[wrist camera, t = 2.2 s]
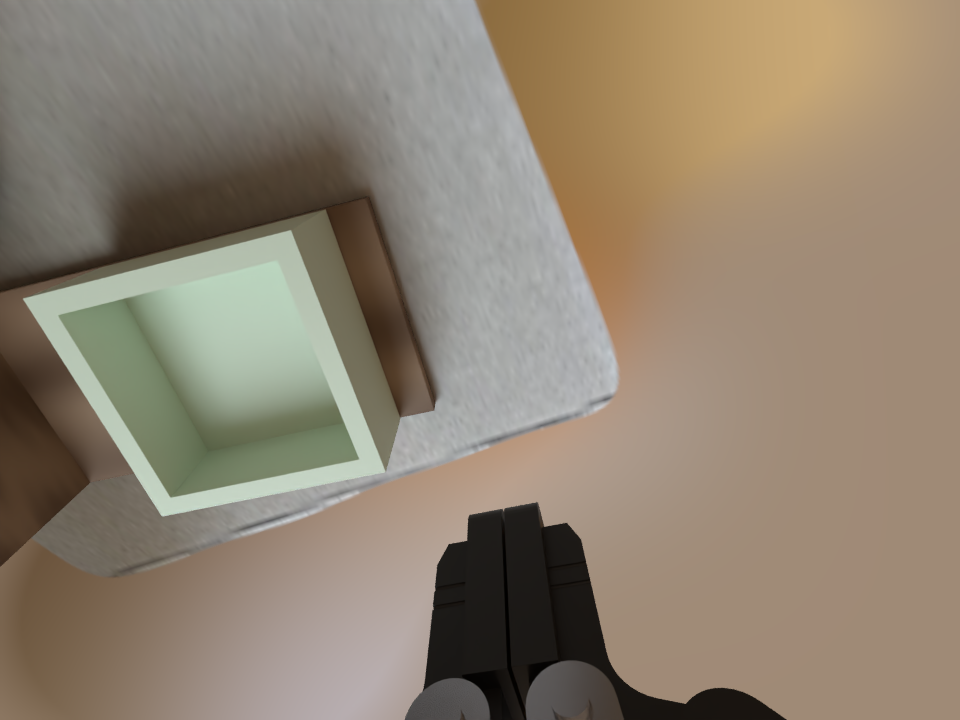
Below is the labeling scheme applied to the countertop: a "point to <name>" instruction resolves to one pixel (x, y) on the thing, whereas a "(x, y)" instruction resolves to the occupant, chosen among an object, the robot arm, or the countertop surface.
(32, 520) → the backstop
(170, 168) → the countertop surface
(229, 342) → the socket block
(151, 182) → the countertop surface
